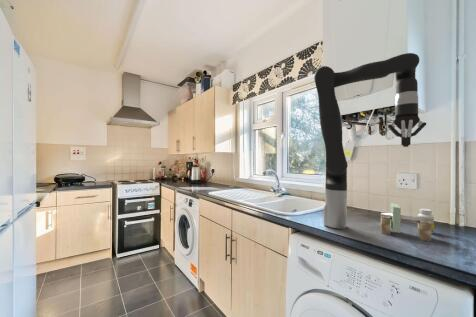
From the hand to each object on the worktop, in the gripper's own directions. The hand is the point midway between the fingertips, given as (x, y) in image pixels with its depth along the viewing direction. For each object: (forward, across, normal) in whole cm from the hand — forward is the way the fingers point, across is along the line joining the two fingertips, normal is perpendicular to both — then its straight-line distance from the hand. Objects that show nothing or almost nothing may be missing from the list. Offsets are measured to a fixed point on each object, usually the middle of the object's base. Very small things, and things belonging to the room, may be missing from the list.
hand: (405, 146), depth 87 cm
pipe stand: (+37, 0, +3) cm, 37 cm away
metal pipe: (+31, 0, +3) cm, 31 cm away
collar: (+35, -3, +3) cm, 35 cm away
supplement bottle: (+37, +9, +14) cm, 41 cm away
